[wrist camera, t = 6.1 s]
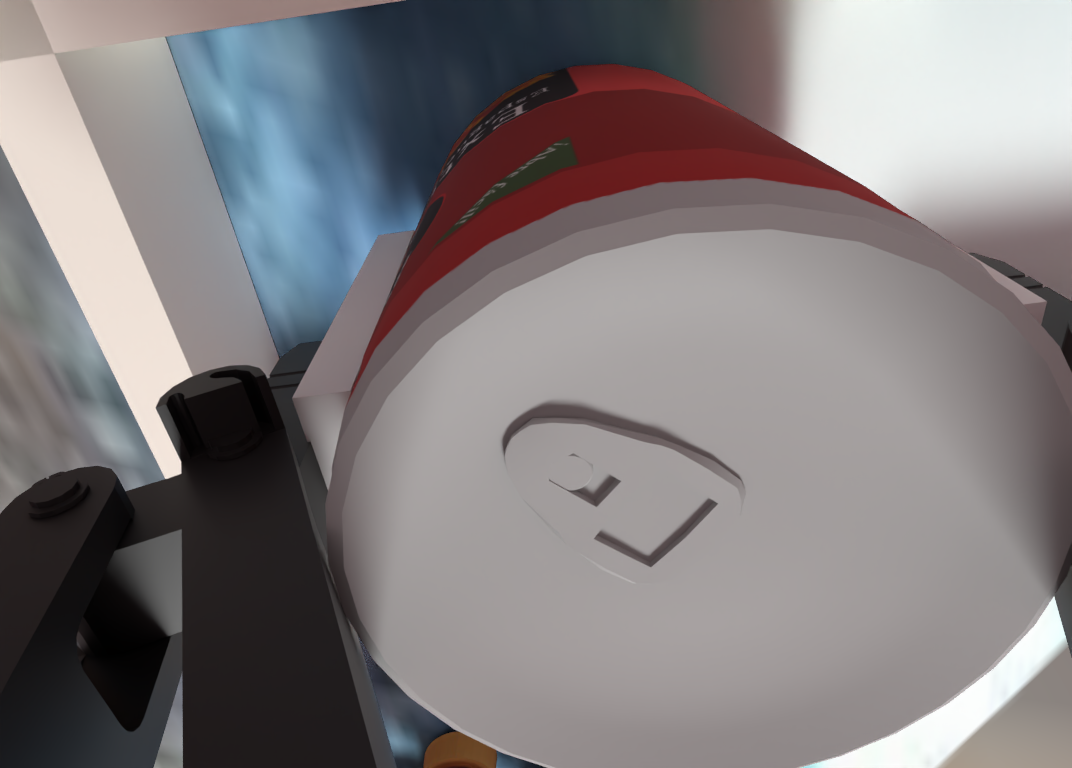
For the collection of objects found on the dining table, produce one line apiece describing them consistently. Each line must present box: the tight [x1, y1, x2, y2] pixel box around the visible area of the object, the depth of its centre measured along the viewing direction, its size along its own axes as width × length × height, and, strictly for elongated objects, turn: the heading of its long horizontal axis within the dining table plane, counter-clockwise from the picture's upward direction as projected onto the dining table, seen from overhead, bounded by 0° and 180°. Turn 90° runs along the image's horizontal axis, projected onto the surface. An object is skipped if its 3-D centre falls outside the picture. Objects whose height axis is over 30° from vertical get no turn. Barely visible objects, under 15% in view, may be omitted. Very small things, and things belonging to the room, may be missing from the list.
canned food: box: [325, 64, 1072, 768], centre depth 12 cm, size 8×8×11 cm
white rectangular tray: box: [0, 0, 404, 479], centre depth 15 cm, size 15×24×4 cm, turn 97°
